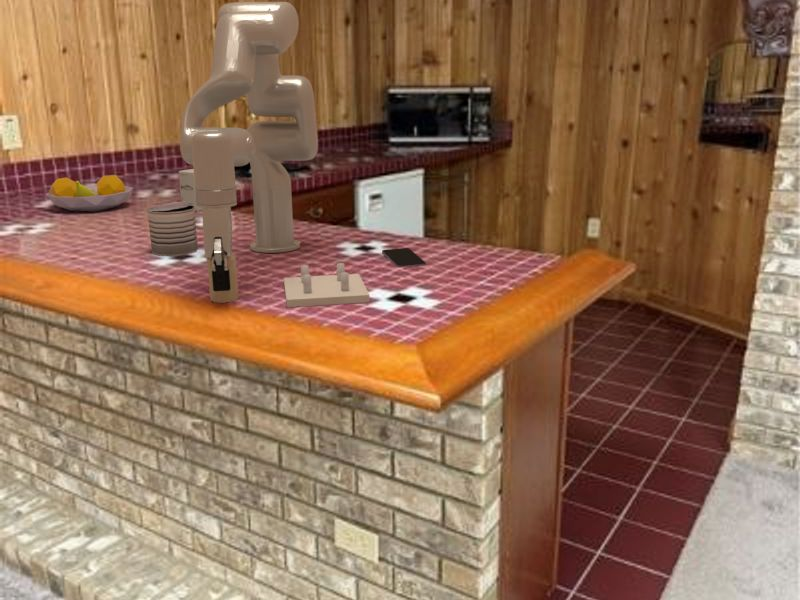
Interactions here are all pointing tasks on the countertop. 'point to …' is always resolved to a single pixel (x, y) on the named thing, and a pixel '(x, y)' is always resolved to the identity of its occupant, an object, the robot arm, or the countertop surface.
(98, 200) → the fruit bowl
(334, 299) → the plate
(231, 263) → the candle
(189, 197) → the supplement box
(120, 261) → the countertop surface
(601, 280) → the countertop surface
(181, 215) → the can
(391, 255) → the smartphone
